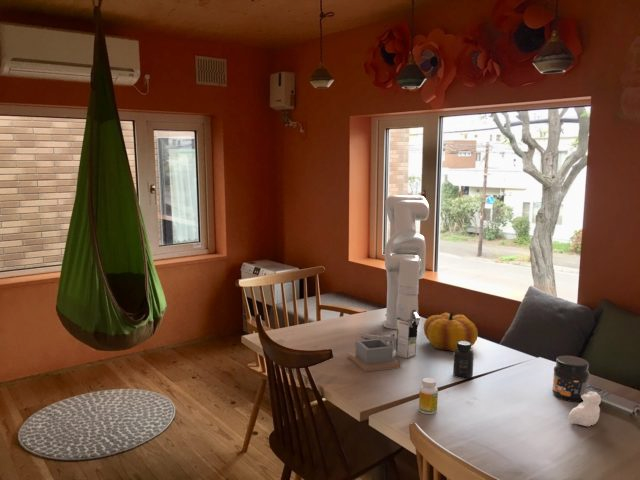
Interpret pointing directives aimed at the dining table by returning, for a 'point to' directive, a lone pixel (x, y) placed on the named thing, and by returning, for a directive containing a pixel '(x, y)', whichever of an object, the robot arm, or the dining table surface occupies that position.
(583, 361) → the supplement container
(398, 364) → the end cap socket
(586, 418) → the bust
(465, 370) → the supplement bottle
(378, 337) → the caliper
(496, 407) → the dining table surface
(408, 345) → the syrup box
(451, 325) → the decorative pumpkin
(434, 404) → the supplement bottle
